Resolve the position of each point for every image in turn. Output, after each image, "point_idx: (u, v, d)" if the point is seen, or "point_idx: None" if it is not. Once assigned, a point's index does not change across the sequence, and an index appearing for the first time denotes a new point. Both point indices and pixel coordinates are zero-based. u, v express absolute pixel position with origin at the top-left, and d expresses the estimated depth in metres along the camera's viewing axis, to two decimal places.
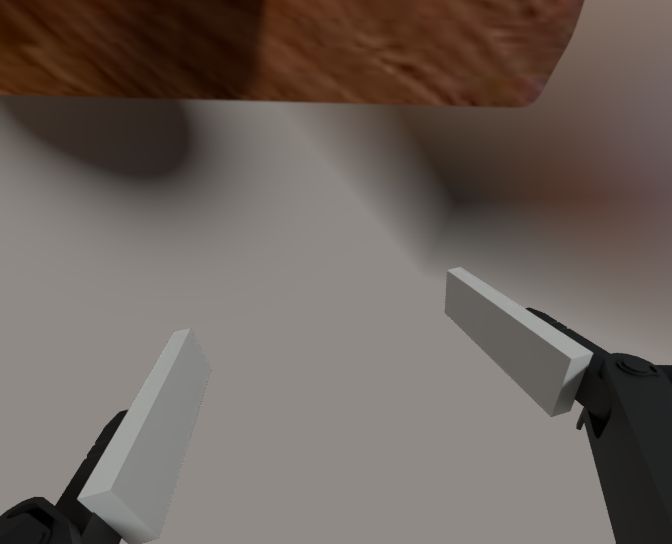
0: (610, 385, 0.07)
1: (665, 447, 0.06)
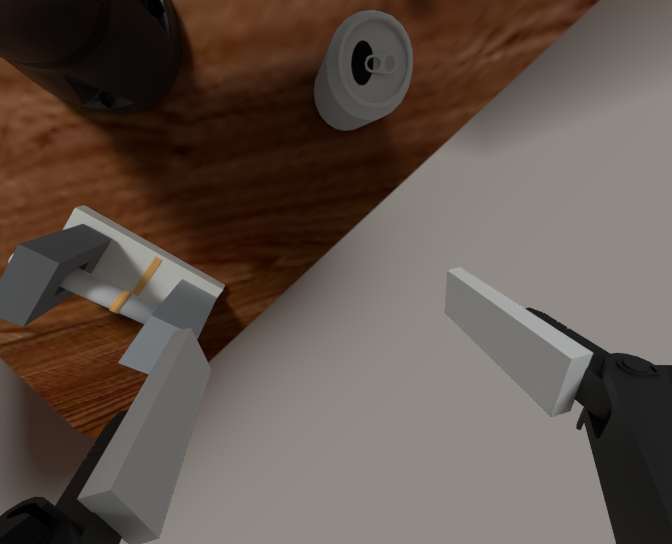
0: (610, 385, 0.07)
1: (665, 447, 0.06)
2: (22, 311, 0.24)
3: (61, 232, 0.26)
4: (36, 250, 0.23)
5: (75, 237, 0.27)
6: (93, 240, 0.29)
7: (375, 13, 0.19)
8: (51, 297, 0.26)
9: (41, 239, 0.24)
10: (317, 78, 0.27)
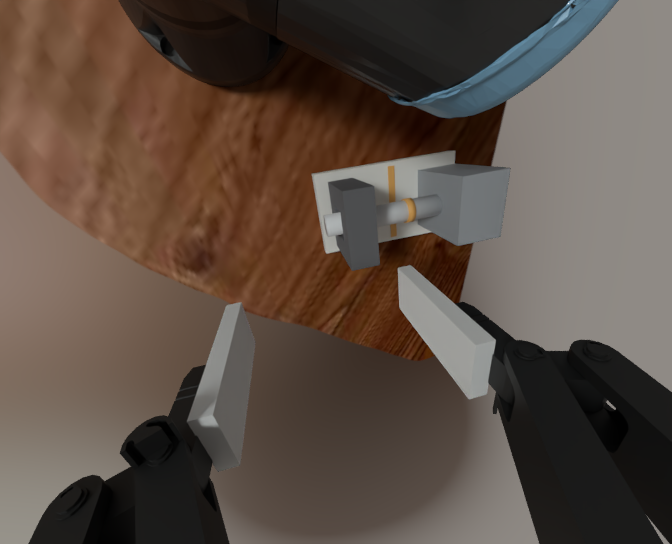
0: (511, 372, 0.08)
1: (555, 424, 0.06)
2: (373, 251, 0.27)
3: (335, 185, 0.27)
4: (353, 189, 0.24)
5: (343, 183, 0.28)
6: (350, 180, 0.29)
7: None
8: None
9: (340, 188, 0.25)
10: None
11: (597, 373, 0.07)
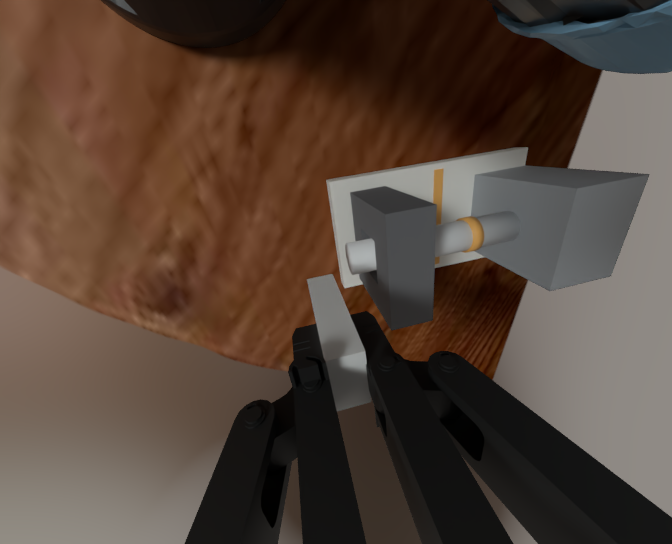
0: (377, 389, 0.08)
1: (416, 434, 0.07)
2: (424, 302, 0.17)
3: (365, 199, 0.18)
4: (402, 209, 0.14)
5: (377, 195, 0.19)
6: (386, 191, 0.20)
7: None
8: None
9: (377, 206, 0.16)
10: None
11: (452, 388, 0.08)
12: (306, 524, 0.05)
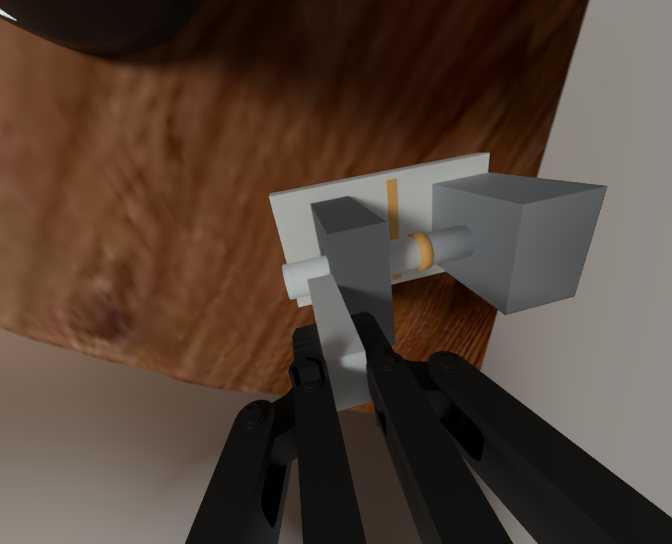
0: (377, 389, 0.08)
1: (416, 434, 0.07)
2: (384, 326, 0.16)
3: (319, 213, 0.17)
4: (348, 228, 0.13)
5: (333, 208, 0.17)
6: (345, 202, 0.18)
7: None
8: None
9: (326, 223, 0.14)
10: None
11: (451, 388, 0.08)
12: (306, 524, 0.05)
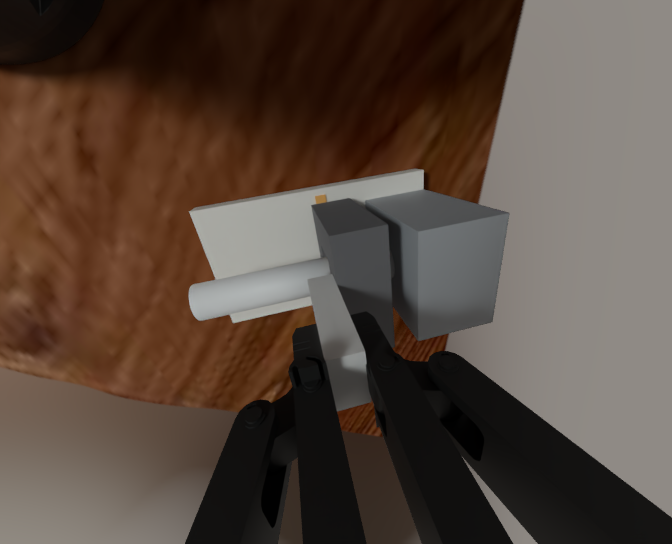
0: (377, 389, 0.08)
1: (416, 434, 0.07)
2: (383, 329, 0.16)
3: (320, 214, 0.17)
4: (349, 230, 0.13)
5: (334, 210, 0.17)
6: (346, 204, 0.18)
7: None
8: None
9: (327, 224, 0.14)
10: None
11: (451, 388, 0.08)
12: (306, 524, 0.05)
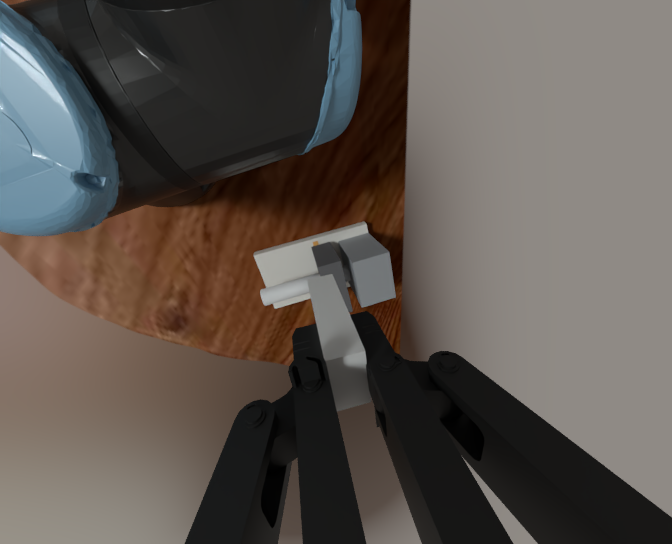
0: (377, 389, 0.08)
1: (416, 434, 0.07)
2: (346, 303, 0.36)
3: (315, 254, 0.37)
4: (325, 264, 0.33)
5: (321, 251, 0.37)
6: (327, 247, 0.38)
7: None
8: None
9: (317, 261, 0.35)
10: None
11: (452, 388, 0.08)
12: (306, 524, 0.05)
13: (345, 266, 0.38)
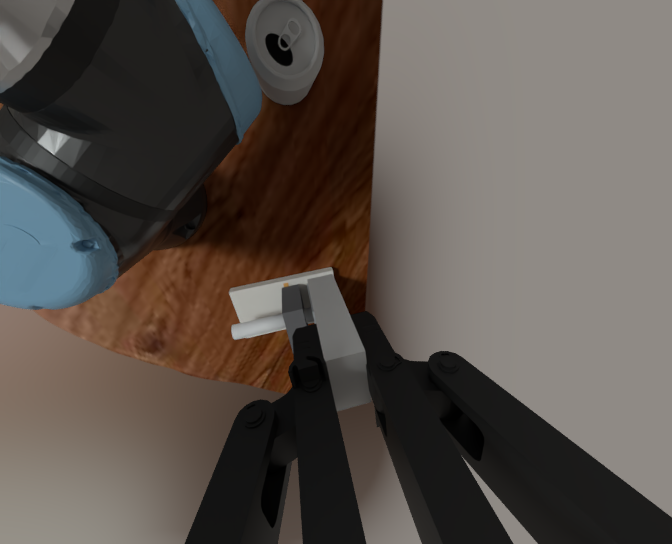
0: (377, 389, 0.08)
1: (416, 434, 0.07)
2: None
3: (283, 297, 0.42)
4: (289, 311, 0.38)
5: (289, 295, 0.42)
6: (295, 290, 0.43)
7: (257, 10, 0.23)
8: None
9: (283, 306, 0.40)
10: (261, 86, 0.32)
11: (452, 388, 0.08)
12: (306, 524, 0.05)
13: (309, 309, 0.43)
